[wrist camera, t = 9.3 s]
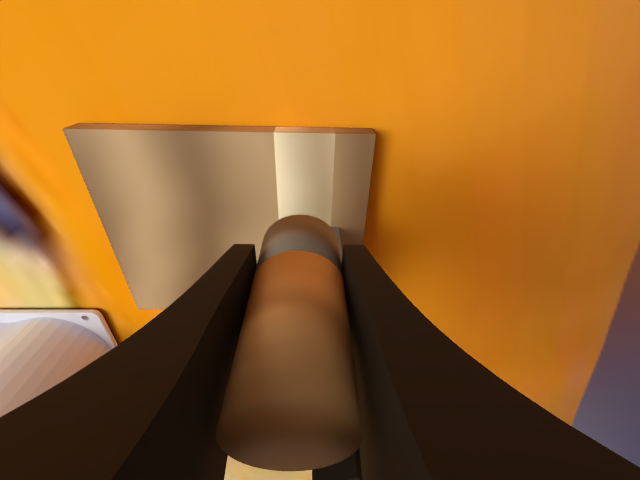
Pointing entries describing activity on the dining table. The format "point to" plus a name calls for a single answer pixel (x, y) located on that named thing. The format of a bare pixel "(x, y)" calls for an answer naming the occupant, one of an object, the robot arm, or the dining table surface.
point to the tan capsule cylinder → (293, 357)
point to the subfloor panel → (214, 192)
